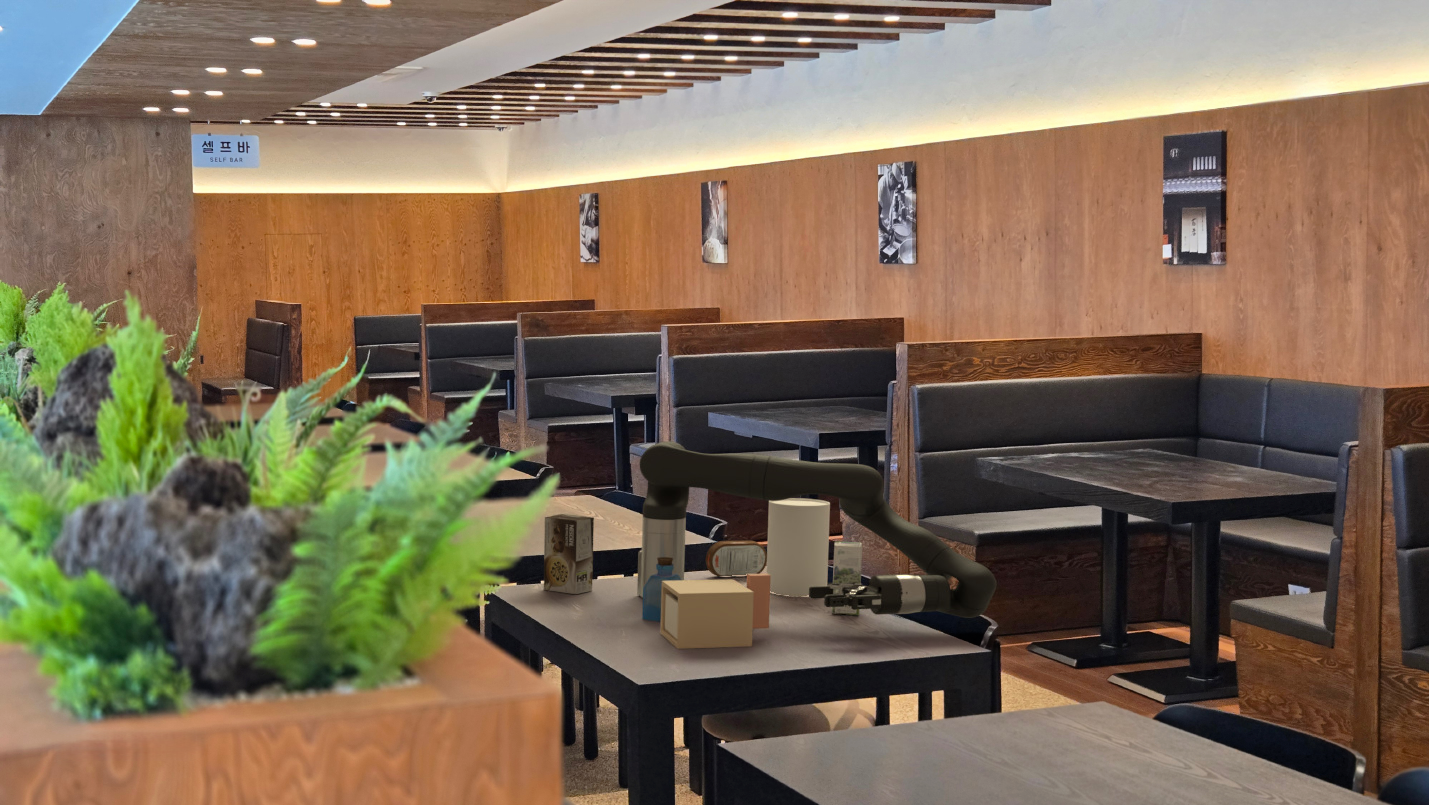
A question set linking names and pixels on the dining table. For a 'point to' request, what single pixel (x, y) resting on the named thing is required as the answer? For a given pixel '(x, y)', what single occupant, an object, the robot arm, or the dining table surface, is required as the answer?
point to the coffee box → (568, 553)
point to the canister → (797, 545)
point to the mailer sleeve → (710, 613)
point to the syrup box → (847, 569)
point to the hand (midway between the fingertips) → (817, 596)
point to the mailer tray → (671, 614)
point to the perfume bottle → (657, 589)
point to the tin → (736, 558)
